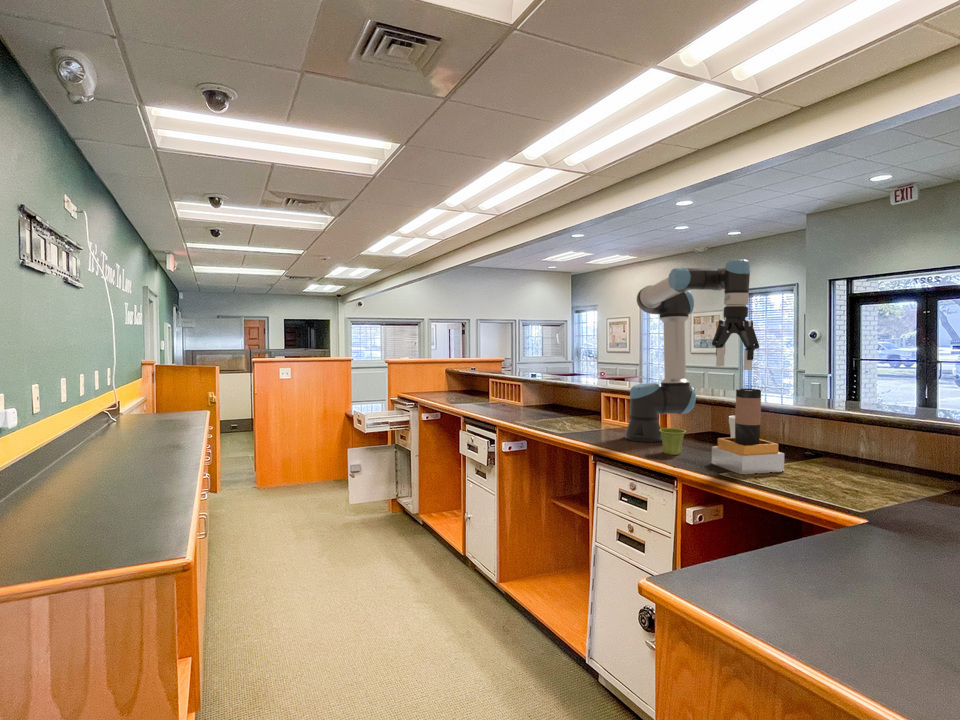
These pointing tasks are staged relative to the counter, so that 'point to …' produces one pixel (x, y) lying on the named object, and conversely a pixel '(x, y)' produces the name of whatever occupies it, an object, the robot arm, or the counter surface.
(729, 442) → the grey and brown box
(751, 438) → the travel mug
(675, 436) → the plant pot
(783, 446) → the counter surface
